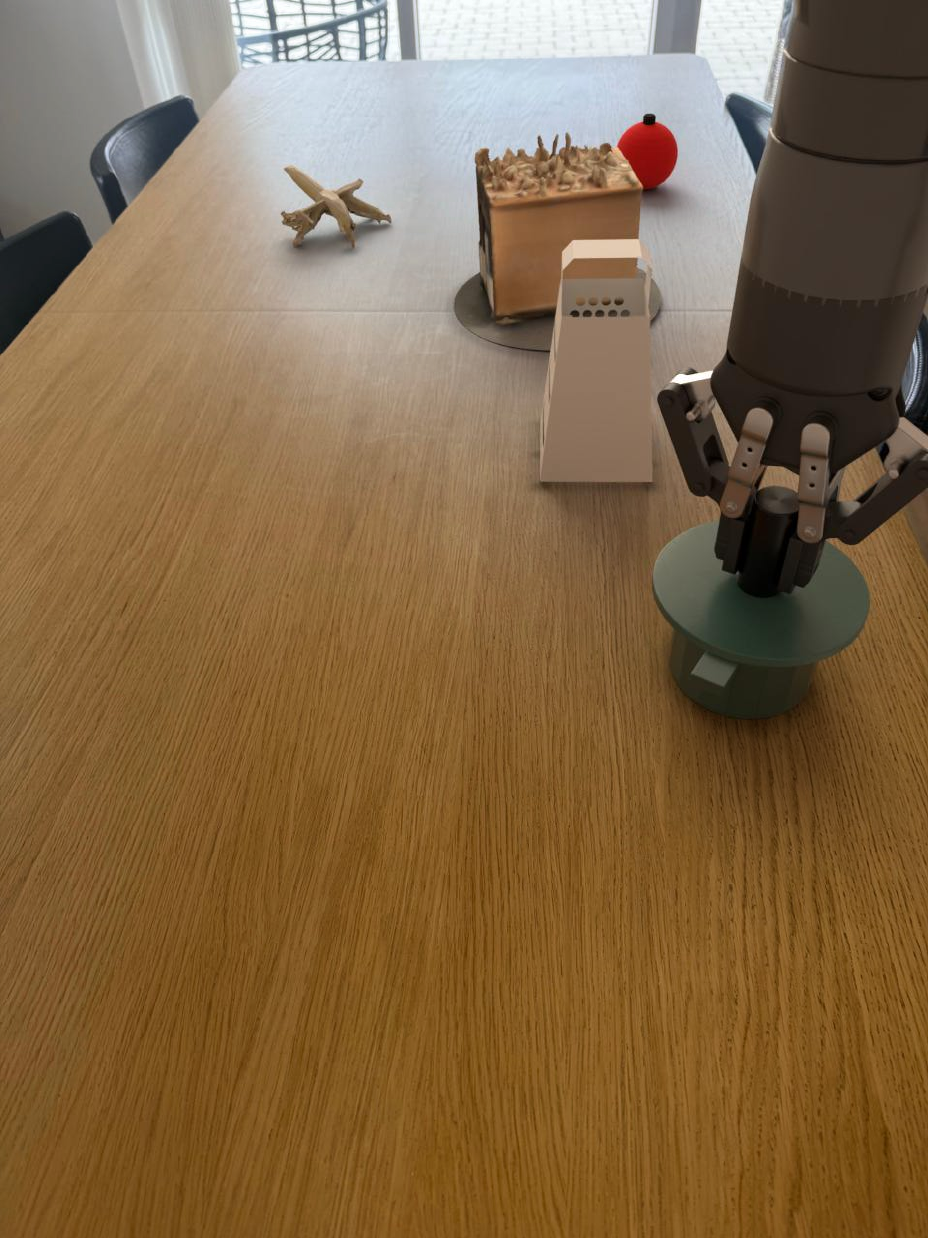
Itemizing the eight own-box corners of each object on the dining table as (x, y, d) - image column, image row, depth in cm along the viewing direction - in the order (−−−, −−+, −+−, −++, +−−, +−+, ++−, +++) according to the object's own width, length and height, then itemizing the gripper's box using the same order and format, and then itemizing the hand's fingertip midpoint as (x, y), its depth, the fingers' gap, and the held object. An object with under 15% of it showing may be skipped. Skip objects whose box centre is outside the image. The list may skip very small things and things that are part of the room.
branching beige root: (312, 281, 130) (240, 208, 132) (387, 263, 141) (319, 195, 143) (334, 228, 124) (259, 151, 126) (411, 213, 135) (340, 142, 137)
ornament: (679, 196, 140) (688, 122, 133) (618, 200, 140) (623, 126, 133) (667, 174, 147) (675, 102, 140) (608, 177, 147) (613, 106, 140)
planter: (556, 375, 105) (561, 199, 92) (412, 302, 119) (399, 140, 106) (703, 300, 116) (726, 133, 103) (556, 241, 130) (560, 88, 117)
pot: (841, 629, 76) (861, 566, 71) (766, 766, 66) (784, 704, 62) (716, 583, 80) (727, 521, 75) (629, 706, 71) (637, 644, 66)
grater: (540, 421, 99) (543, 224, 85) (644, 421, 98) (664, 222, 84) (539, 481, 91) (543, 276, 77) (652, 482, 90) (676, 275, 77)
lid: (890, 575, 53) (926, 474, 49) (826, 707, 47) (860, 606, 42) (698, 512, 58) (715, 415, 53) (615, 625, 51) (625, 525, 46)
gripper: (640, 251, 40) (610, 570, 52) (1003, 329, 34) (875, 668, 46) (711, 190, 44) (669, 497, 56) (1043, 249, 38) (917, 577, 50)
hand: (762, 572), depth 51 cm, fingers closed on lid, 2 cm apart
